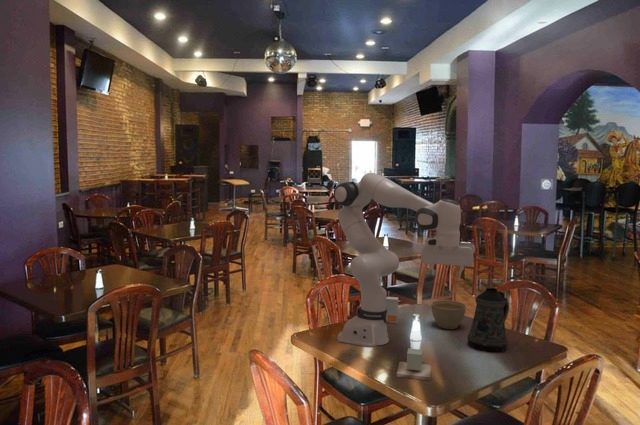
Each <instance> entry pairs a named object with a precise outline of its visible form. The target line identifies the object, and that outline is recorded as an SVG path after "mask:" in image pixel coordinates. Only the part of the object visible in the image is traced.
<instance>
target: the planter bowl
mask: <svg viewBox="0 0 640 425" xmlns="http://www.w3.org/2000/svg"><path fill="white" fill-rule="evenodd" d="M466 308H467V305H466V304H465V303H463V302H460V301H457V300H448V299H441V300H440V299H439V300H435V301H432V302H431V312H432V316H433V319H434V320H435V322H436V323H437V327H439V328H441V329H445V330H455V329H457V328H458V327H459V325H460V324H461V322H462V321H463V319H464V317H465V313H466Z"/></svg>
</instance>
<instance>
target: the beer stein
mask: <svg viewBox="0 0 640 425" xmlns="http://www.w3.org/2000/svg"><path fill="white" fill-rule="evenodd" d="M505 296H506V295H505V293H504V292H503V291H500V290H498V289H497V288H494V287H486V289H485V290H484V291H483V292H482V293H480V294H478V295H477V296H476V297H475V303H476V306H475V309H474V310H475V311H474V315H473V320H472V323H471V325H470V326H471V327H470V330H469V332H468V334H467V343H468V346H469V347H470V348H471V349H473V350H476V351H479V352H483V353H492V354H493V353H494V354H495V353H496V354H497V353H503V352H504V351H506V349H507V346H508V344H509V343H508V338H507V335H506V324H505V323H506V321H507V320H506V319H507V318H508V314H509V310H510V303H509V300H508V298H507V297H505Z"/></svg>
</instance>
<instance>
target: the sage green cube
mask: <svg viewBox="0 0 640 425" xmlns="http://www.w3.org/2000/svg"><path fill="white" fill-rule="evenodd" d="M423 353H424V350H423V349H417V348H407V352H406V362H407V367H406V369H411V370H419V371H421V369H422V364H423V355H424V354H423Z"/></svg>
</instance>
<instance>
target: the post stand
mask: <svg viewBox="0 0 640 425" xmlns="http://www.w3.org/2000/svg"><path fill="white" fill-rule="evenodd" d="M406 367H407V361H406V362H405V361H399V363H398V365H397V370H396V377H398V378H406V379H414V380H424V381H431V373H432V372H431V371H432V365H431V364H426V363H425V364H424V363H422V369H421V371H419V370H411V369H406Z"/></svg>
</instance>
